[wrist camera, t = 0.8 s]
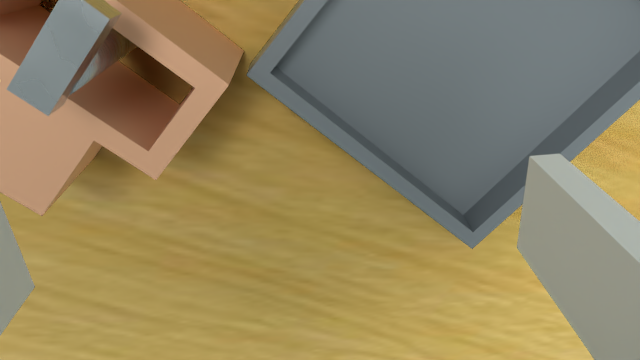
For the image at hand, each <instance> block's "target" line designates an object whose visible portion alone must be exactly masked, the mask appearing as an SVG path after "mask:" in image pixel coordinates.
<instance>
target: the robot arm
mask: <svg viewBox="0 0 640 360" xmlns="http://www.w3.org/2000/svg"><path fill="white" fill-rule="evenodd" d="M517 249H518V250H519V252H520V253H521V254H522V256H523V257H524V259H525V260H526V262H527V263H528V265H529V266H530V267H531V269H532V270H533V272H534V273H535V275H536V276H537V277H538V279H539V280H540V282H541V283H542V285H543V286H544V288H545V289H546V290H547V292H548V293H549V295H550V296H551V298H552V299H553V300H554V302H555V303H556V305H557V306H558V308H559V309H560V311H561V312H562V313H563V315H564V316H565V318H566V319H567V321H568V322H569V323H570V325H571V326H572V328H573V329H574V331H575V332H576V333H577V335H578V336H579V338H580V339H581V341H582V342H583V344H584V345H585V346H586V348H587V349H588V351H589V352H590V354H591V355H592V356H593V358H594V359H595V360H640V221H638V220H637V219H636V218H635V217H634V216H633V215H631V214H630V213H629V212H628V211H627V210H625V209H624V208H623V207H622V206H621V205H620V204H618V203H617V202H616V201H615V200H614V199H613V198H611V197H610V196H609V195H608V194H607V193H606V192H604V191H603V190H602V189H601V188H600V187H599V186H597V185H596V184H595V183H594V182H593V181H591V180H590V179H589V178H588V177H587V176H586V175H584V174H583V173H582V172H581V171H580V170H579V169H577V168H576V167H575V166H574V165H573V164H572V163H570V162H569V161H568V160H567V159H566V158H565V157H563V156H562V155H561V154H548V155H535V156H529V163H528V170H527V177H526V185H525V192H524V199H523V206H522V213H521V221H520V228H519V235H518V242H517ZM34 287H35V286H34V283H33V281H32V279H31V276H30V274H29V271H28V269H27V266H26V264H25V261H24V259H23V256H22V254H21V251H20V249H19V246H18V244H17V242H16V239H15V237H14V234H13V232H12V229H11V227H10V224H9V222H8V219H7V217H6V214H5V212H4V210H3V207H2V205H1V202H0V335H1V334H2V332H3V331H4V329H5V328H6V327H7V325H8V324H9V322H10V321H11V320H12V318H13V317H14V315H15V314H16V313H17V311H18V310H19V308H20V307H21V306H22V304H23V303H24V301H25V300H26V299H27V297H28V296H29V294H30V293H31V292H32V290H33V289H34Z"/></svg>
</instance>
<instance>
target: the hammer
mask: <svg viewBox="0 0 640 360" xmlns="http://www.w3.org/2000/svg"><path fill="white" fill-rule="evenodd" d="M121 14H122V13H121V12H119V11H118V10H116V9H115V8H114V7H112V6H111V5H110V4H108V3H107V2H106V1H104V0H58V2H57V3H56V5H55V7H54V9H53V10H52V12H51V14H50V15H49V17H48V19H47V21H46V22H45V24H44V26H43V27H42V29H41V31H40V33H39V34H38V36H37V38H36V39H35V41H34V43H33V45H32V46H31V48H30V50H29V51H28V53H27V55H26V57H25V58H24V60H23V62H22V63H21V65H20V67H19V69H18V70H17V72H16V74H15V75H14V77H13V79H12V81H11V82H10V84H9V86H8V87H7V90H8V91H10V92H11V93H13V94H14V95H16V96H17V97H19V98H21V99H22V100H24V101H25V102H27V103H28V104H30V105H32V106H33V107H35V108H36V109H38V110H39V111H41V112H42V113H44V114H46V115H47V116H49V115H51V114H52V113H53V112H55V111H56V110H57V109H59V108H60V107H61V106H63V105H64V103H65V102H66V100H67V99H68V97H69V95H71V94H72V93H74V92H75V91H77V90H78V89H79V88H81V87H82V86H84V85H85V84H86V83H88V82H89V81H91V80H92V79H93V78H95V77H96V76H97V75H99V74H100V73H102V72H103V71H104V70H106V69H107V68H109V67H110V66H111V65H113V64H114V63H115V62H117V61H118V60H120V59H121V58H122V57H124V56H125V55H127V54H128V53H129V52H131V51H132V50H133V49H135V48H136V47H138V46H137V45H135V44H134V43H133V42H131V41H130V40H128V39H127V38H126V37H124V36H123V35H122V34H120V33H119V32H117V31H116V30H115V29H113V27H114V25H115V23H116V22H117V20H118V19H119V17H120V16H121Z"/></svg>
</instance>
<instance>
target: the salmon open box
mask: <svg viewBox="0 0 640 360" xmlns="http://www.w3.org/2000/svg"><path fill="white" fill-rule="evenodd" d="M41 1H42V0H0V80H1V81H0V192H1V193H2V194H4V195H6V196H8V197H9V198H11V199H13V200H15V201H16V202H18V203H20V204H22V205H23V206H25V207H27V208H29V209H30V210H32V211H34V212H36V213H38V214H39V215H41V216H43V215H44V213H45V212H46V211H47V210H48V209H49V208H50V207H51V206H52V204H53V203H54V202H55V201H56V200H57V199H58V198H59V197H60V196H61V194H62V193H63V192H64V191H65V190H66V189H67V188H68V187H69V185H70V184H71V183H72V182H73V181H74V180H75V179H76V178H77V177H78V175H79V174H80V173H81V172H82V171H83V170H84V169H85V168H86V166H87V165H88V164H89V163H90V162H91V161H92V160H93V159H94V157H95V156H96V155H97V153H98V152H99V150H100V149H101V147H102V146H103V147H105V148H107V149H108V150H110V151H111V152H113V153H114V154H116V155H117V156H119V157H121V158H122V159H124V160H125V161H127V162H128V163H130V164H131V165H133V166H135V167H136V168H138V169H139V170H141V171H142V172H144V173H145V174H147V175H149V176H150V177H152V178H153V179H155V180H157V178H158V177H159V176H160V174H161V173H162V172H163V170H164V169H165V168H166V167H167V165H168V164H169V163H170V161H171V160H172V159H173V157H174V156H175V155H176V154H177V152H178V151H179V150H180V148H181V147H182V146H183V144H184V143H185V142H186V140H187V139H188V138H189V137H190V135H191V134H192V133H193V131H194V130H195V129H196V127H197V126H198V125H199V123H200V122H201V121H202V120H203V118H204V117H205V116H206V114H207V113H208V112H209V110H210V109H211V108H212V107H213V105H214V104H215V103H216V101H217V100H218V99H219V97H220V96H221V95H222V93H223V92H224V91H225V90H226V88H227V87H228V86H229V84H230V82H231V79H232V77H233V75H234V73H235V70H236V68H237V66H238V64H239V61H240V59H241V57H242V54H243V52H244V50H242V49H241V48H240V47H239V46H237V45H236V44H235V43H234V42H232V41H231V40H230V39H228V38H227V37H226V36H225V35H223V34H222V33H221V32H220V31H218V30H217V29H216V28H214V27H213V26H212V25H211V24H209V23H208V22H207V21H206V20H204V19H203V18H202V17H200V16H199V15H198V14H197V13H195V12H194V11H193V10H192V9H190V8H189V7H188V6H187V5H185V4H184V3H183V2H181V1H180V0H104V1H106V2H107V3H108V4H110V5H111V6H112V7H114V8H115V9H116V10H118V11H119V12H121V13H122V14H121V16H120V17H119V19H118V20H117V22H116V23H115V25H114V27H113V29H115V30H116V31H117V32H119V33H120V34H122V35H123V36H124V37H126V38H127V39H128V40H130V41H131V42H133V43H134V44H135V45H137V46H138V47H139V48H141V49H142V50H143V51H145V52H146V53H148V54H149V55H150V56H152V57H153V58H154V59H156V60H157V61H159V62H160V63H161V64H163V65H164V66H165V67H167V68H168V69H170V70H171V71H172V72H174V73H175V74H176V75H178V76H179V77H180V78H182V79H183V80H185V81H186V82H187V83H189V84H190V85H191V86H193V88H192V89H191V90H190V92H189V93H188V95H187V96H186V97H185V99H184V100H183V101H182V103H181V104H178V103H177V102H176V101H174V100H173V99H171V98H170V97H168V96H167V95H166V94H164V93H163V92H161V91H160V90H159V89H157V88H156V87H154V86H153V85H152V84H150V83H149V82H147V81H146V80H145V79H143V78H142V77H140V76H139V75H137V74H136V73H135V72H133V71H132V70H130V69H129V68H128V67H126V66H125V65H123V64H122V63H121V62H119V61H117V62H115V63H114V64H113V65H111V66H110V67H109V68H107V69H106V70H104V71H103V72H102V73H100V74H99V75H97V76H96V77H95V78H93V79H92V80H91V81H89V82H88V83H86V84H85V85H84V86H82V87H81V88H79V89H78V90H77V91H75V92H74V93H72V94H71V95H69V97H68V99H67V100H66V102H65V103H64V105H63V106H61V107H60V108H59V109H57V110H56V111H55V112H53V113H52V114H51V115H49V116H47V115H46V114H44V113H42V112H41V111H39V110H38V109H36V108H35V107H33V106H32V105H30V104H28V103H27V102H25V101H24V100H22V99H21V98H19V97H17V96H16V95H14V94H13V93H11V92H10V91H8V90H7V87H8V86H9V84H10V82H11V81H12V79H13V77H14V75H15V74H16V72H17V70H18V69H19V67H20V65H21V63H22V62H23V60H24V58H25V57H26V55H27V53H28V51H29V50H30V48H31V46H32V45H33V43H34V41H35V39H36V38H37V36H38V34H39V33H40V31H41V29H42V27H43V26H44V24H45V22H46V21H47V19H48V17H49V15H50V14H51V13H50V12H49V11H47V10H46V9H44V8H43V7H42V6H40V5H39V4H40V3H41Z"/></svg>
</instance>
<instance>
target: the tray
mask: <svg viewBox="0 0 640 360" xmlns="http://www.w3.org/2000/svg"><path fill="white" fill-rule="evenodd" d="M247 76H248V77H249V78H250V79H252V80H253V81H254V82H256V83H257V84H258V85H260V86H261V87H262V88H263V89H265V90H266V91H267V92H269V93H270V94H271V95H273V96H274V97H275V98H276V99H278V100H279V101H280V102H282V103H283V104H284V105H286V106H287V107H288V108H290V109H291V110H292V111H293V112H295V113H296V114H297V115H299V116H300V117H301V118H303V119H304V120H305V121H306V122H308V123H309V124H310V125H312V126H313V127H314V128H316V129H317V130H318V131H319V132H321V133H322V134H323V135H325V136H326V137H327V138H329V139H330V140H331V141H332V142H334V143H335V144H336V145H338V146H339V147H340V148H342V149H343V150H344V151H345V152H347V153H348V154H349V155H351V156H352V157H353V158H355V159H356V160H357V161H358V162H360V163H361V164H362V165H364V166H365V167H366V168H368V169H369V170H370V171H372V172H373V173H374V174H375V175H377V176H378V177H379V178H381V179H382V180H383V181H385V182H386V183H387V184H388V185H390V186H391V187H392V188H394V189H395V190H396V191H398V192H399V193H400V194H401V195H403V196H404V197H405V198H407V199H408V200H409V201H411V202H412V203H413V204H414V205H416V206H417V207H418V208H420V209H421V210H422V211H424V212H425V213H426V214H427V215H429V216H430V217H431V218H433V219H434V220H435V221H437V222H438V223H439V224H440V225H442V226H443V227H444V228H446V229H447V230H448V231H450V232H451V233H452V234H454V235H455V236H456V237H457V238H459V239H460V240H461V241H463V242H464V243H465V244H467V245H468V246H469V247H470V248H472V249H473V248H474V247H475V246H476V245H477V244H478V243H479V242H480V241H482V240H483V239H484V238H485V237H486V236H487V235H488V234H489V233H491V232H492V231H493V230H494V229H495V228H496V227H497V226H498V225H500V224H501V223H502V222H503V221H504V220H505V219H506V218H507V217H508V216H510V215H511V214H512V213H513V212H514V211H515V210H516V209H517V208H519V207H520V206H521V205H522V204H523V199H524V192H525V185H526V177H527V170H528V163H529V156H535V155H548V154H561V155H562V156H563V157H565V158H566V159H567V160H568V161H569V162H570V161H571V160H572V159H573V158H575V157H576V156H577V155H578V154H579V153H580V152H581V151H582V150H584V149H585V148H586V147H587V146H588V145H589V144H590V143H591V142H593V141H594V140H595V139H596V138H597V137H598V136H599V135H600V134H601V133H603V132H604V131H605V130H606V129H607V128H608V127H609V126H610V125H612V124H613V123H614V122H615V121H616V120H617V119H618V118H619V117H621V116H622V115H623V114H624V113H625V112H626V111H627V110H628V109H629V108H631V107H632V106H633V105H634V104H635V103H636V102H637V101H638V100H640V0H299V1H298V2H297V4H296V5H295V6H294V8H293V9H292V10H291V12H290V13H289V14H288V15H287V17H286V18H285V19H284V21H283V22H282V23H281V25H280V26H279V27H278V28H277V30H276V31H275V32H274V34H273V35H272V36H271V38H270V39H269V40H268V41H267V43H266V44H265V45H264V47H263V48H262V49H261V51H260V52H259V53H258V54H257V56H256V57H255V58H254V60H253V61H252V62H251V64H250V66H249V69H248V72H247Z"/></svg>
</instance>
